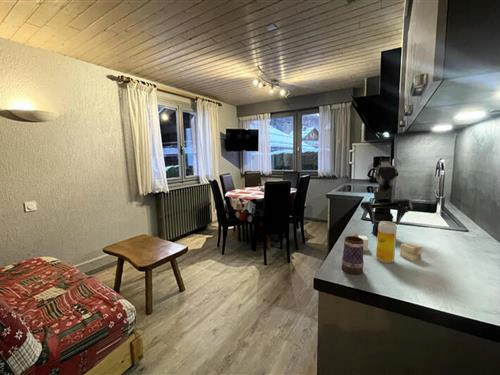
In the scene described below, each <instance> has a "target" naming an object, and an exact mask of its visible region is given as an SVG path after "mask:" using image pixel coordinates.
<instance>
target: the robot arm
mask: <svg viewBox="0 0 500 375" xmlns="http://www.w3.org/2000/svg"><path fill="white" fill-rule="evenodd" d="M374 175H375V176H374V177H375V178H376V179H375V180H376V182H377V183H378V190H377V191H374V192H373V199H374V200H375V202H376V203H373V202H372V201H371V200H364V201H361V202H360V208H361V209H362V210H363V211H364V212H366V213H368V216H369V219H370V222H371V224H372V231H371V234H373V235H375V236H376V237H378V225H379V223H380V221H389V222H393V223H394V216H393V213H392V212H391V208H396V211H397V212H396V219H395V220H396V221H395V223H396V226H398V225H399V224H400V222H401V220H402V219H403V217H404V215H405V214H406V213H409V211H413V204H412V202H411V200H410V199H409V198H407V199H406V198H405V199H404V198H403V199H402V198H401V199H397V202H394V197H395V196H394V194H395V193H394V184H395V181H396V180H395V179H396V178H397V177H399V171H398V170H397V168H396V167H395V166H393V165H392V162H391V161H388V160H385V161H379V164H378V165H377V166H376V167H375V174H374Z"/></svg>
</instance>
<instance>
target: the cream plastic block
mask: <svg viewBox="0 0 500 375" xmlns="http://www.w3.org/2000/svg"><path fill="white" fill-rule="evenodd" d="M358 237H359V238H362V239H363V242H364V246H363V251H366V252H368V250H369V238H368V237H367V236H366V235H359V234H358Z"/></svg>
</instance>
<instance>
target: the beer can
mask: <svg viewBox="0 0 500 375" xmlns="http://www.w3.org/2000/svg"><path fill="white" fill-rule="evenodd" d="M397 226H398V225H397V224H396V222H394V221H393V222H389V221H380V223H379V225H378V236H377V237H376V239H377V240H376V251H375V252H376V253H375V254H376V255H375V257H376V258H377V261H378V262H382V263H386V264H391V263H393V262H394V261H395V253H396V240H397V229H398V227H397Z"/></svg>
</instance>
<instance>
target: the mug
mask: <svg viewBox="0 0 500 375" xmlns="http://www.w3.org/2000/svg"><path fill="white" fill-rule="evenodd" d="M358 235H359V234H358V233H353V235H347V236H345V237H344V241H343V251H342V257H341V270H342V271H344V272H345V273H347V274H350V275H356V276H357V275H361V274H362V273H363V272H364V264H365V263H364V250H363V246H364V242H363V239H362V238H359V237H358Z"/></svg>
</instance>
